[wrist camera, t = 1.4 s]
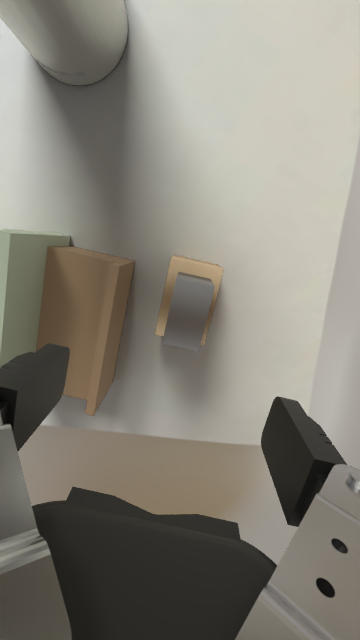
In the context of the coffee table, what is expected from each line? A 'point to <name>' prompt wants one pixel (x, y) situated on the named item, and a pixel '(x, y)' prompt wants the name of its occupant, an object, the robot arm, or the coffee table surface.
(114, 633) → the robot arm
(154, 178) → the coffee table surface
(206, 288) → the cabinet block
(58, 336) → the wall board
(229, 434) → the coffee table surface
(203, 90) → the coffee table surface
